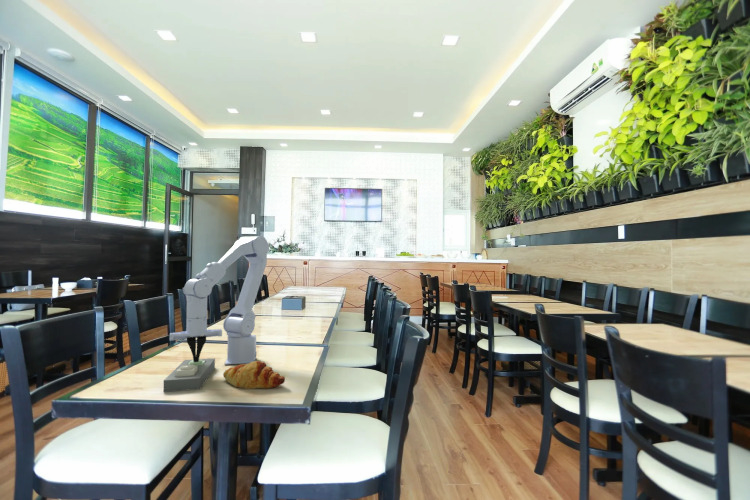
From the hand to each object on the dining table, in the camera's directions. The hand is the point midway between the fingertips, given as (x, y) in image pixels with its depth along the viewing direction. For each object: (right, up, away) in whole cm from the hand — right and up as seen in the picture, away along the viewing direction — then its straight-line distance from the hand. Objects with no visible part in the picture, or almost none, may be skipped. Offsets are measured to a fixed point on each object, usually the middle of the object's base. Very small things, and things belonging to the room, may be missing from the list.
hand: (196, 361), depth 113 cm
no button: (+2, -2, -10) cm, 10 cm away
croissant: (+21, -4, -9) cm, 23 cm away
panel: (+1, -4, -5) cm, 6 cm away
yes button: (0, -4, 0) cm, 4 cm away
